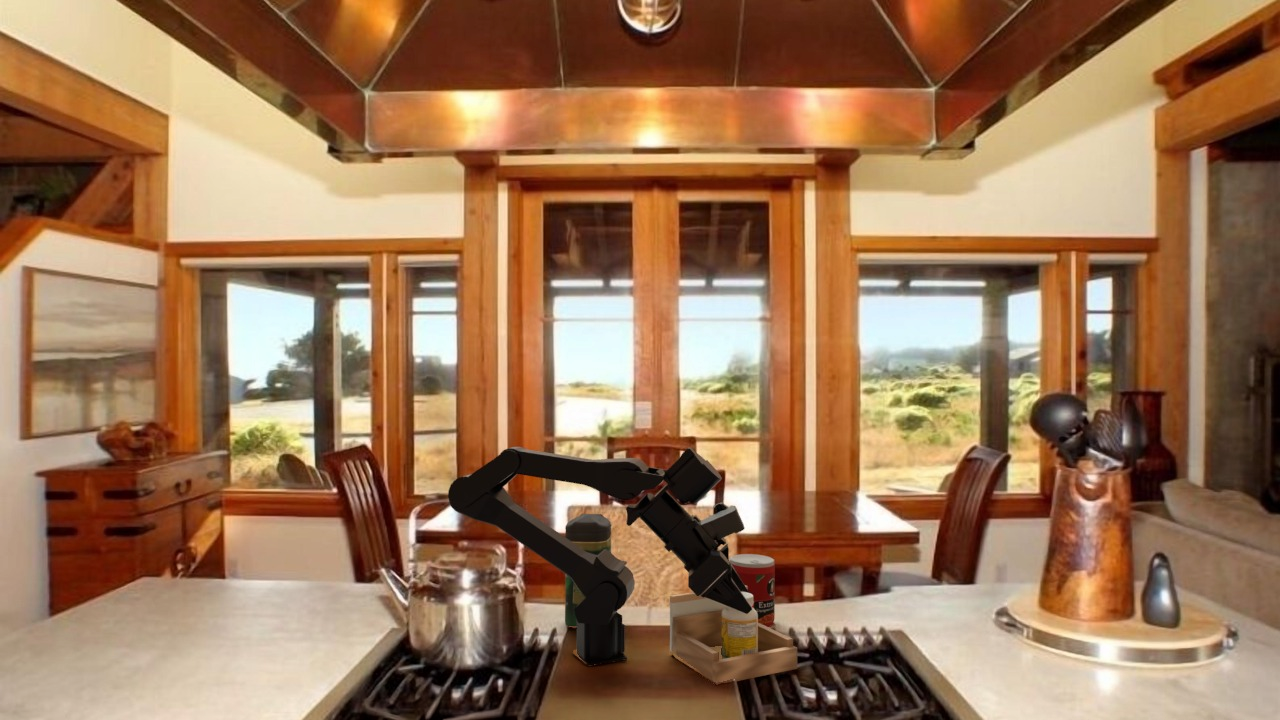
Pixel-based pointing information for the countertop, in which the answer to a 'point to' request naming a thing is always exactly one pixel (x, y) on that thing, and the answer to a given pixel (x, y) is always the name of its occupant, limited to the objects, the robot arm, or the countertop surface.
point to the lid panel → (690, 607)
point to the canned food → (758, 583)
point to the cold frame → (706, 631)
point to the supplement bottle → (739, 631)
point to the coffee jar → (592, 538)
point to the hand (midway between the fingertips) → (747, 602)
